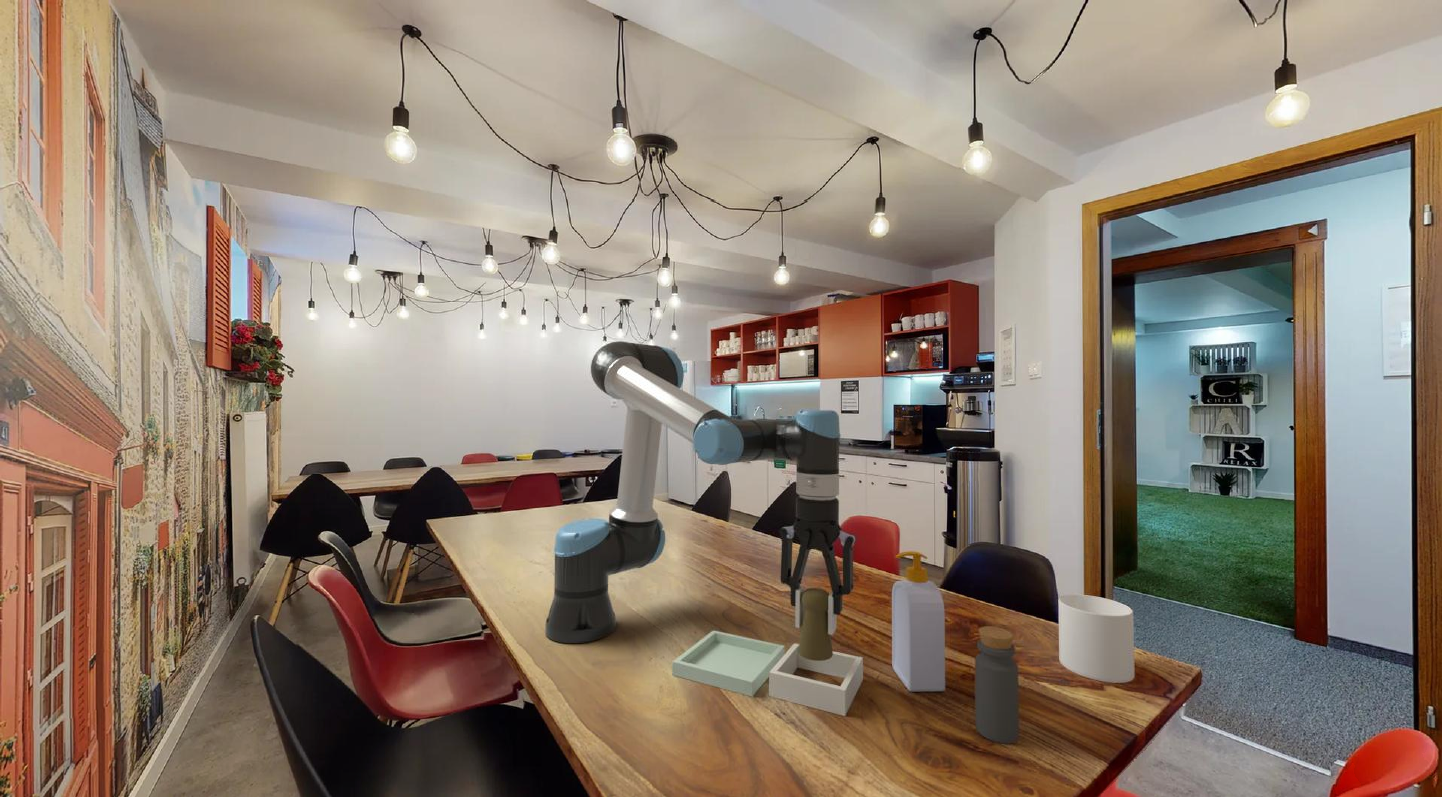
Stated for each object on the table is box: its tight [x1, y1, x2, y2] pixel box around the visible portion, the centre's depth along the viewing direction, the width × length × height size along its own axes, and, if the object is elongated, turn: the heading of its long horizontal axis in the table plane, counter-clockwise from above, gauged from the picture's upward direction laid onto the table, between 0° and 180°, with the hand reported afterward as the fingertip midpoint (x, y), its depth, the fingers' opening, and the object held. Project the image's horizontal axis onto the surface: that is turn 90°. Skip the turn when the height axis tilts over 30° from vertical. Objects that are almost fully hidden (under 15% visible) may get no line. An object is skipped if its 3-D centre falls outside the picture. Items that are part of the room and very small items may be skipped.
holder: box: [768, 643, 864, 717], centre depth 93 cm, size 13×13×4 cm
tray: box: [671, 629, 786, 697], centre depth 101 cm, size 16×16×2 cm
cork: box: [798, 587, 833, 661], centre depth 93 cm, size 6×6×11 cm
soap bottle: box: [891, 550, 946, 692], centre depth 96 cm, size 9×7×23 cm
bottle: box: [974, 625, 1020, 745], centre depth 80 cm, size 6×6×15 cm
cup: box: [1058, 593, 1135, 684], centre depth 101 cm, size 12×12×12 cm
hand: (815, 627), depth 93 cm, fingers closed on cork, 5 cm apart
